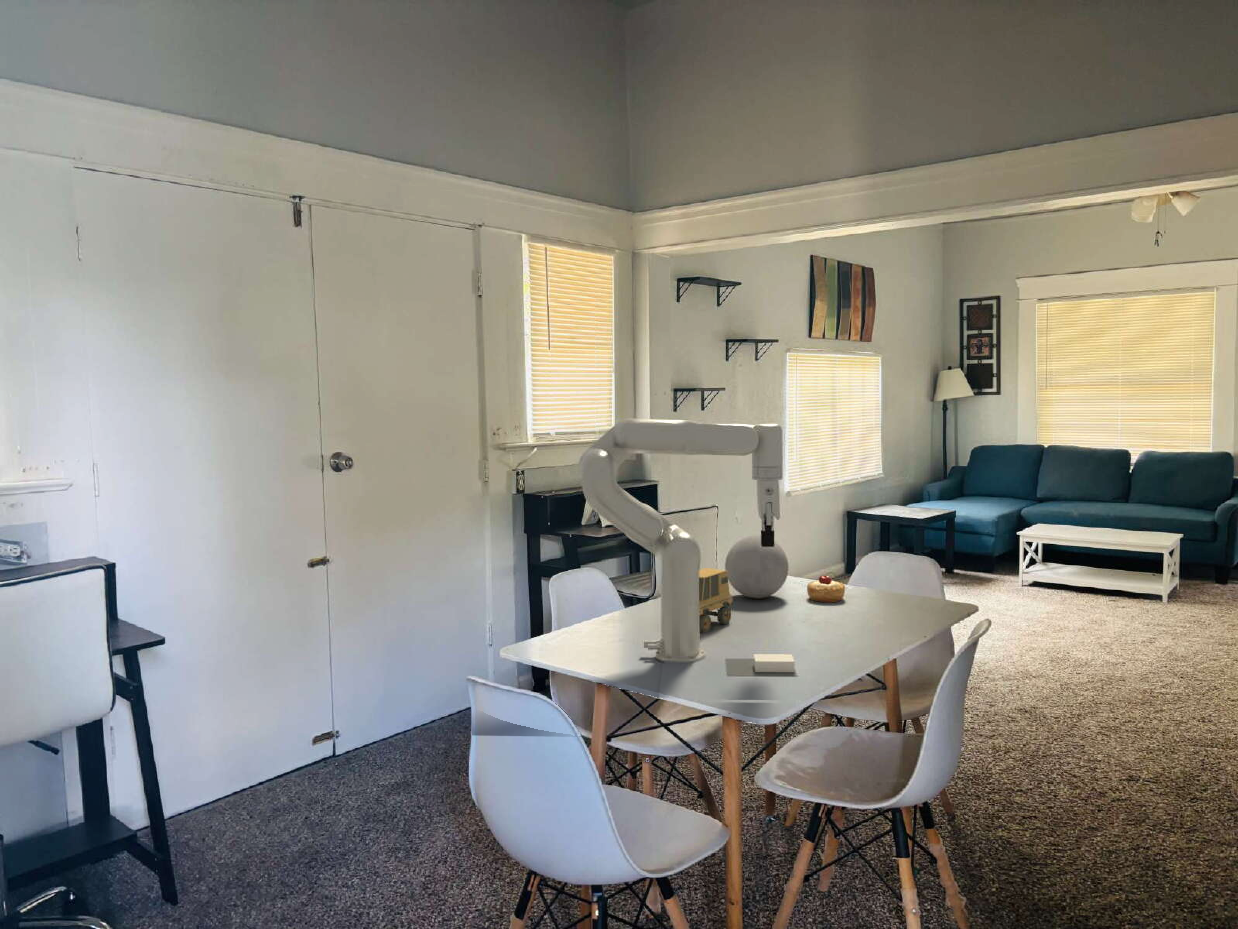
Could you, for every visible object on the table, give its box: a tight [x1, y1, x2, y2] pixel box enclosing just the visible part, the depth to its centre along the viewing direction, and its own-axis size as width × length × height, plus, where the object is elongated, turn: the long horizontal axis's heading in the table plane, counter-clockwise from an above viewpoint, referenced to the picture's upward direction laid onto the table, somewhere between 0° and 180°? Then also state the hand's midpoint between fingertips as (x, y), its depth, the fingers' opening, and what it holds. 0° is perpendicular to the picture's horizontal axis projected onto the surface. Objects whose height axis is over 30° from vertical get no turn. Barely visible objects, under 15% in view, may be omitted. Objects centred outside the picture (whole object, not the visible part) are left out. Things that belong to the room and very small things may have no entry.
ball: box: [724, 534, 789, 599], centre depth 297 cm, size 20×20×20 cm
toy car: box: [699, 567, 734, 633], centre depth 262 cm, size 10×19×15 cm, turn 143°
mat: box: [725, 658, 798, 678], centre depth 220 cm, size 16×14×1 cm
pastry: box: [806, 571, 846, 603], centre depth 293 cm, size 12×12×9 cm
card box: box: [753, 653, 796, 672], centre depth 219 cm, size 9×3×6 cm
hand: (767, 546), depth 233 cm, fingers closed
